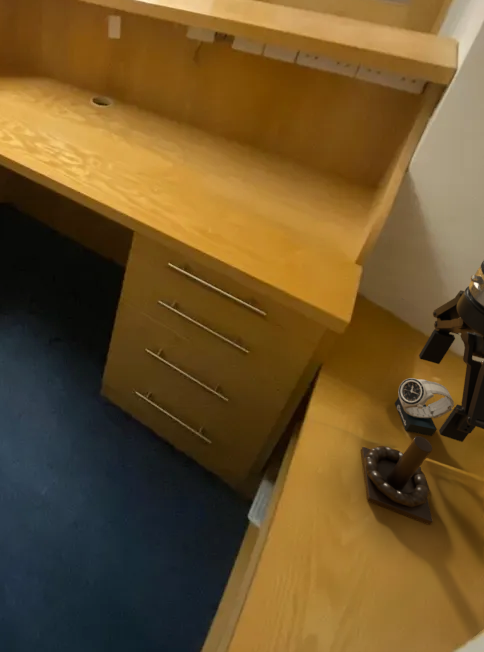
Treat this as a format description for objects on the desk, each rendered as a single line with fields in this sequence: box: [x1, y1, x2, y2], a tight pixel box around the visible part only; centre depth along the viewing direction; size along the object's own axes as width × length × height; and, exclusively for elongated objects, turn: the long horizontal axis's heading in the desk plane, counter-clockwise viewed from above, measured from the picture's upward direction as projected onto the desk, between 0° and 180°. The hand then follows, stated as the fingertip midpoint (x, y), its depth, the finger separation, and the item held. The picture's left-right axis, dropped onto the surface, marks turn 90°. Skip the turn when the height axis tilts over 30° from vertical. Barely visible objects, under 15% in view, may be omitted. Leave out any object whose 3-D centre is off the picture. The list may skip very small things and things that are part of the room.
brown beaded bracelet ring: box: [365, 445, 431, 507], centre depth 87 cm, size 9×9×2 cm
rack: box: [360, 435, 433, 526], centre depth 84 cm, size 9×9×13 cm
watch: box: [394, 377, 455, 437], centre depth 94 cm, size 6×8×11 cm
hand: (438, 395), depth 79 cm, fingers open, 13 cm apart
